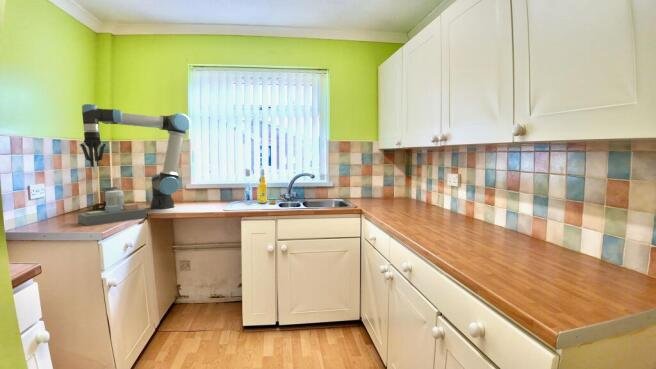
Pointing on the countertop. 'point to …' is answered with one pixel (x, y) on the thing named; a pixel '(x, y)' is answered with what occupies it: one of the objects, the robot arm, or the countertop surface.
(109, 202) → the supplement tub
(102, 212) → the green button
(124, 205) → the terracotta button
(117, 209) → the slate button
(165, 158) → the robot arm
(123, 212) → the console
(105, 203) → the milk frother
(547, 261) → the countertop surface
